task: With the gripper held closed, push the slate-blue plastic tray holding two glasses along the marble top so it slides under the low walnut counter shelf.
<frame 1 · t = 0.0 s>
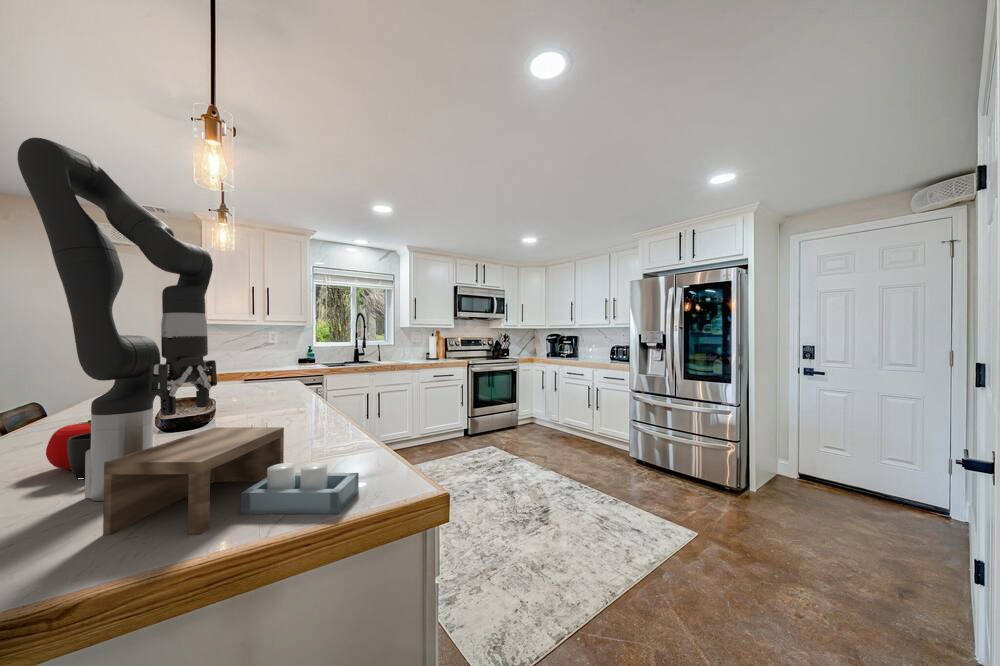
hand: (186, 410, 79), 17 cm above the countertop, tool pointing down, fingers open, 8 cm apart
tray: (303, 502, 73), on the countertop
tomato: (86, 467, 94), on the countertop
mug: (96, 477, 87), on the countertop
counter shelf: (208, 502, 73), on the countertop
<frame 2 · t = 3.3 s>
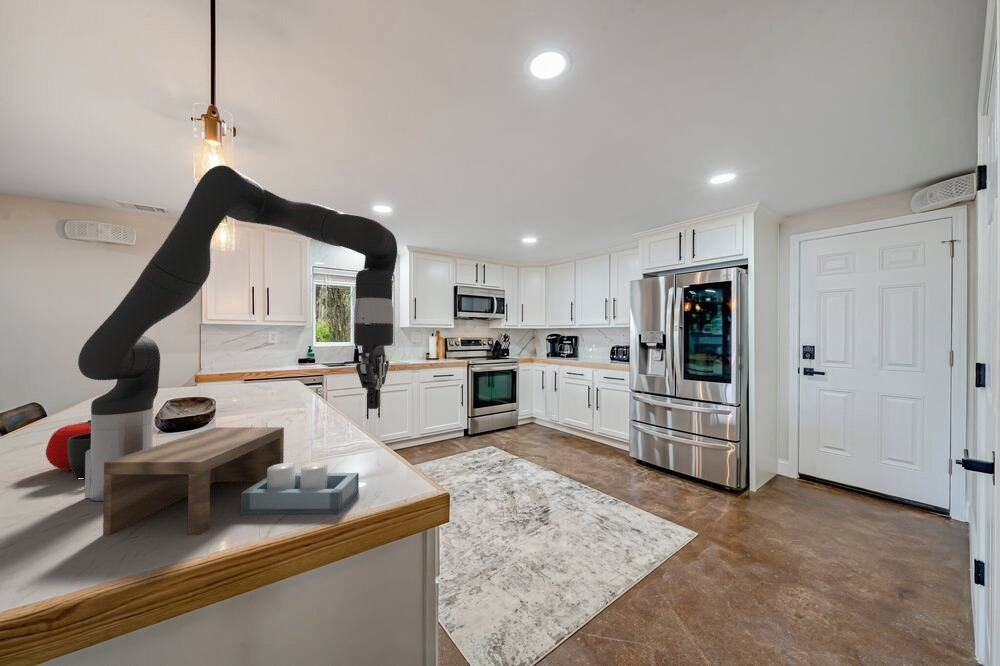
hand: (373, 408, 74), 19 cm above the countertop, tool pointing down, fingers closed
nothing on the countertop moved.
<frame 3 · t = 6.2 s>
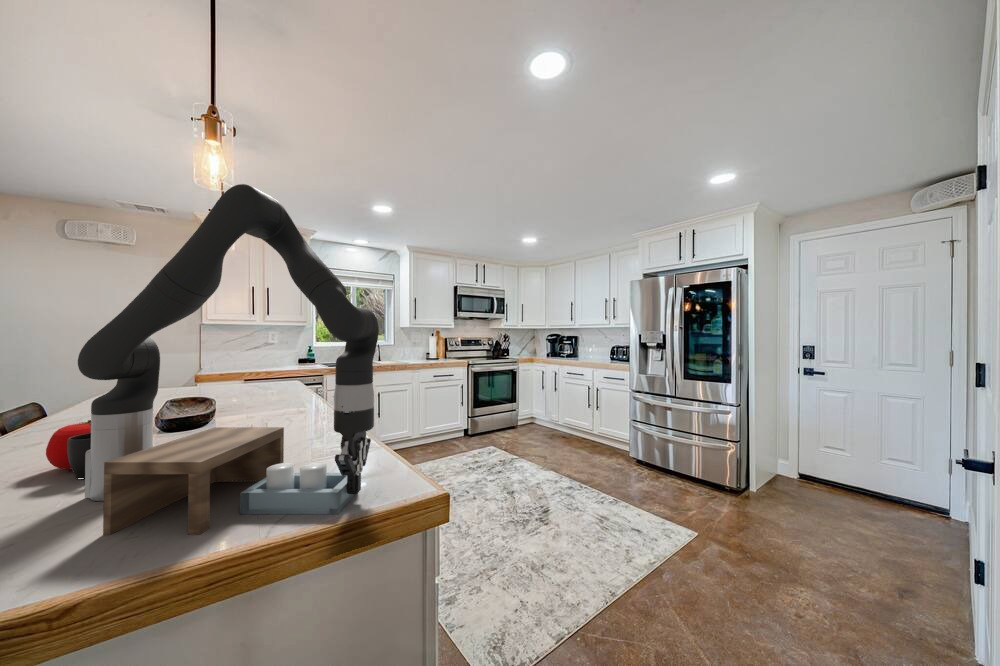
hand: (353, 492, 74), 2 cm above the countertop, tool pointing down, fingers closed
tray: (303, 502, 73), on the countertop, touching gripper
everything else where it was.
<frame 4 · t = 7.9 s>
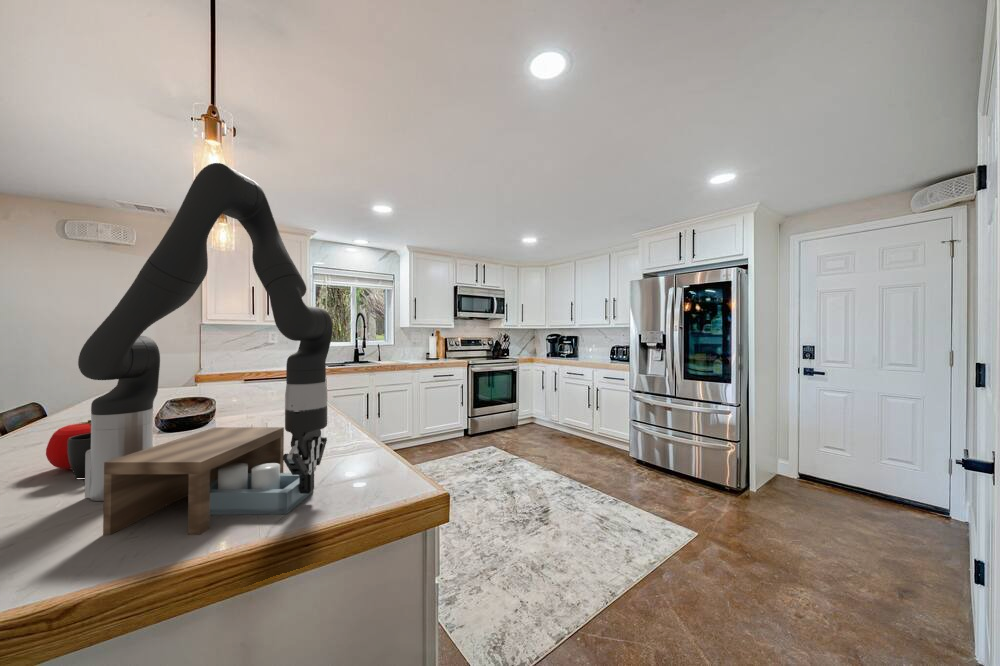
hand: (306, 492, 73), 2 cm above the countertop, tool pointing down, fingers closed
tray: (255, 502, 73), on the countertop, touching gripper
everything else where it was.
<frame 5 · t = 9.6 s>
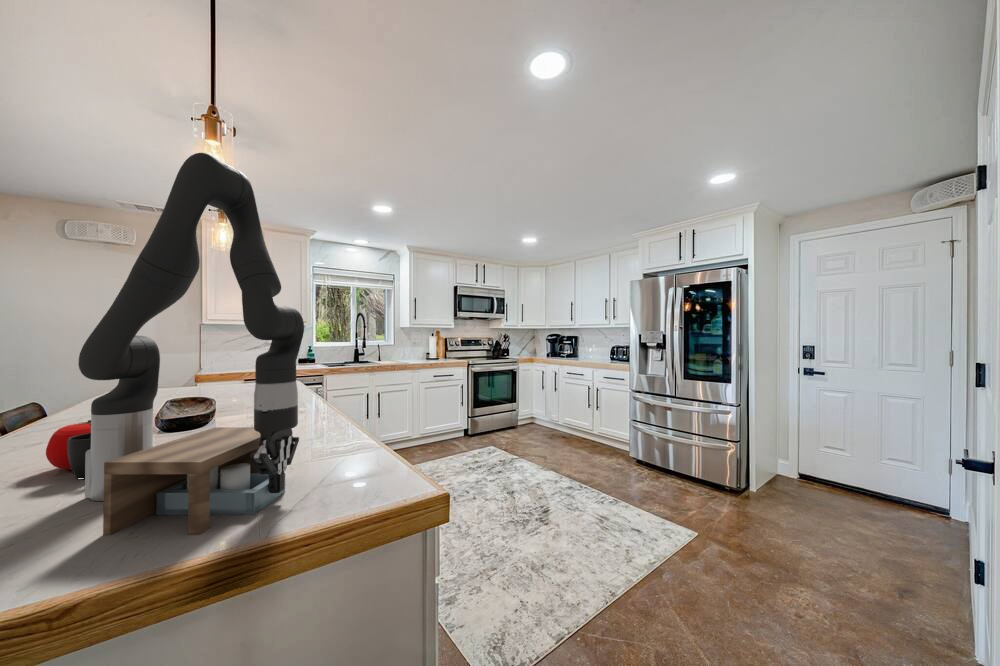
hand: (276, 491, 73), 2 cm above the countertop, tool pointing down, fingers closed
tray: (225, 502, 73), on the countertop, touching gripper
everything else where it was.
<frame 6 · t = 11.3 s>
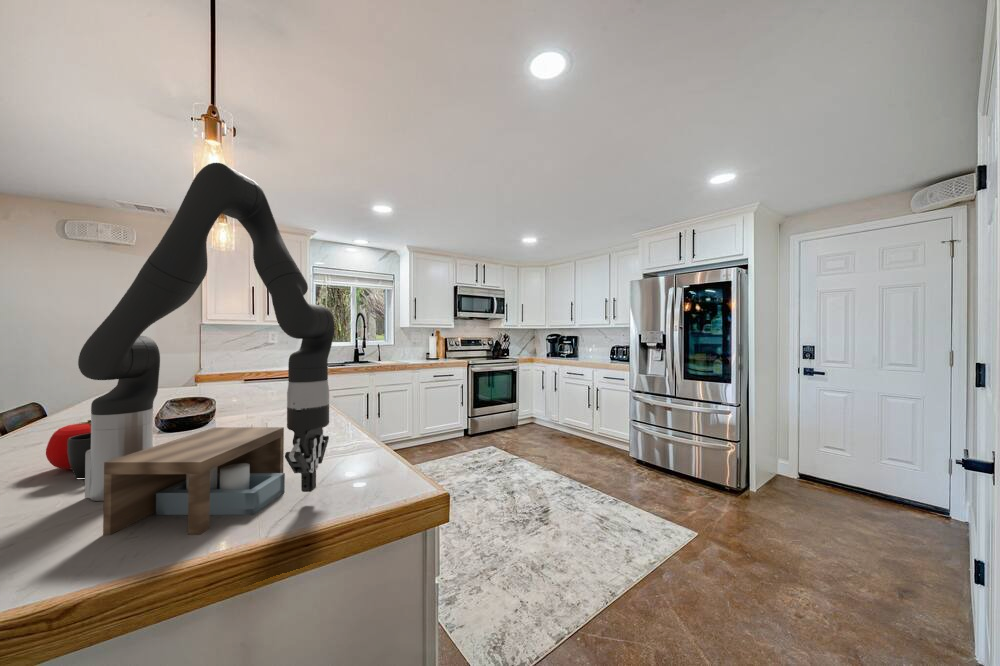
hand: (308, 490, 73), 2 cm above the countertop, tool pointing down, fingers closed
tray: (224, 502, 73), on the countertop
everything else where it was.
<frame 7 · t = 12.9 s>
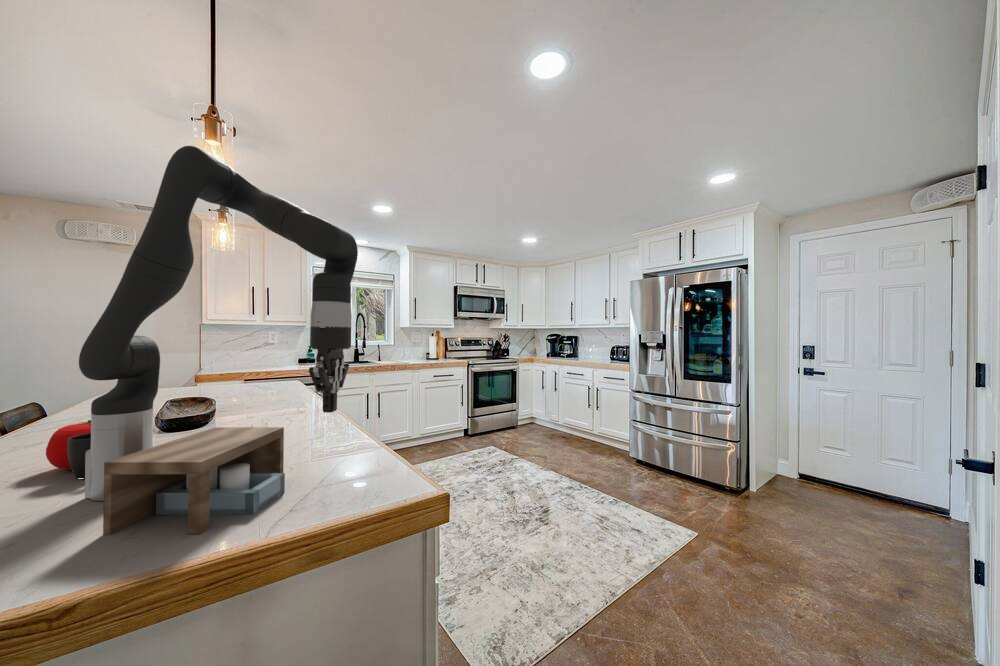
hand: (329, 411, 74), 18 cm above the countertop, tool pointing down, fingers closed
nothing on the countertop moved.
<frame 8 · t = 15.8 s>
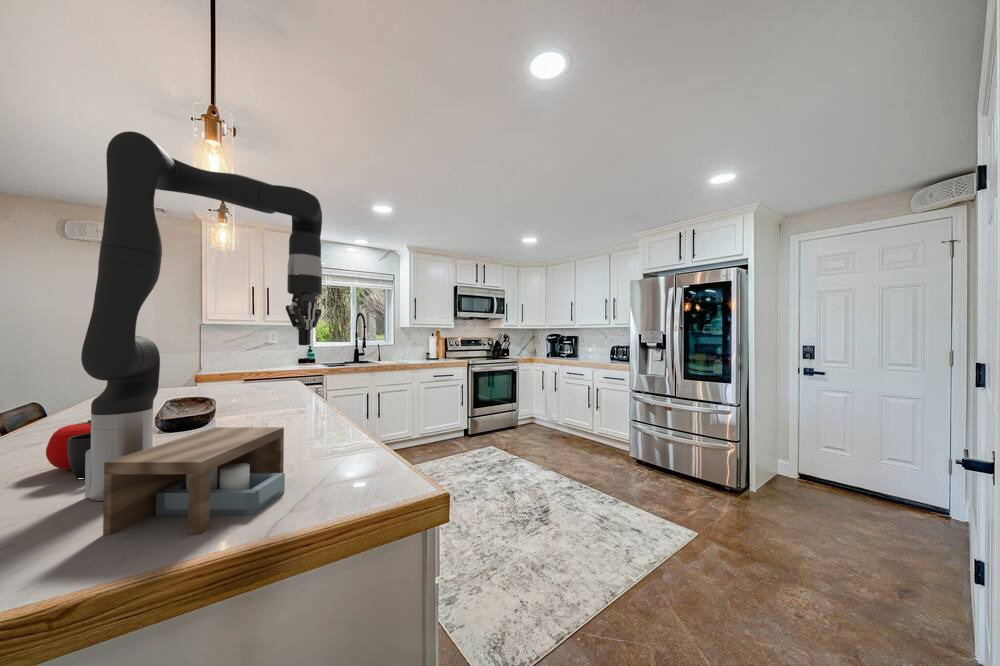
hand: (304, 345, 91), 31 cm above the countertop, tool pointing down, fingers closed
nothing on the countertop moved.
at the end: tray inside the target area (1.9 cm from its centre), on the countertop; tray tilted 0° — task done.
